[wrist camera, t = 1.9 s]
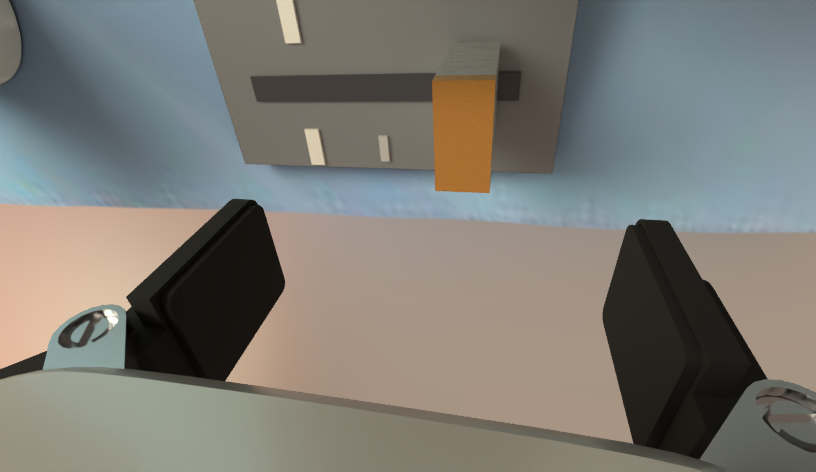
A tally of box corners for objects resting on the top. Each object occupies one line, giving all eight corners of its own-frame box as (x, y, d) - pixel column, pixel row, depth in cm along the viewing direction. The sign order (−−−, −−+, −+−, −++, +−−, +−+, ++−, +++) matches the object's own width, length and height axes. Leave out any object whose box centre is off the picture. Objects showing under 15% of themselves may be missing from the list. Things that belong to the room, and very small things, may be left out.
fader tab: (500, 41, 22) (495, 80, 16) (495, 130, 25) (489, 192, 19) (454, 42, 23) (431, 80, 16) (454, 130, 26) (435, 190, 19)
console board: (577, -33, 22) (583, -31, 20) (550, 160, 28) (552, 174, 26) (211, -9, 26) (189, -5, 24) (258, 152, 32) (243, 165, 31)
